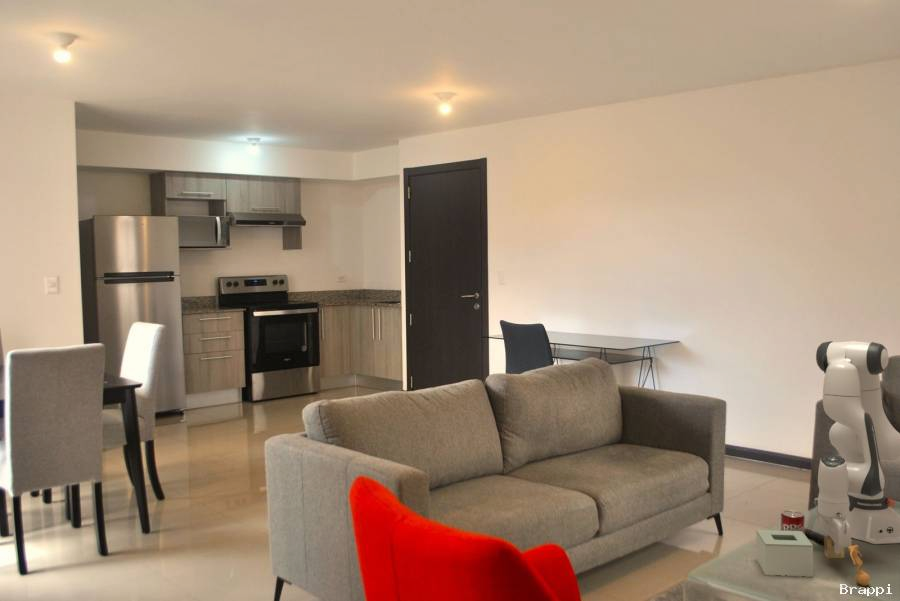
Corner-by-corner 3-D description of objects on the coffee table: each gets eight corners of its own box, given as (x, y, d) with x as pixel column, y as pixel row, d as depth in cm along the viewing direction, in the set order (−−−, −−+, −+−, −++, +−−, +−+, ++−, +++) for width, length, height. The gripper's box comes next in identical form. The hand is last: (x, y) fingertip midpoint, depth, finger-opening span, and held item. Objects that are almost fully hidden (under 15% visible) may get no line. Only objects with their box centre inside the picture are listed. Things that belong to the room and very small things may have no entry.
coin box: (801, 561, 256) (801, 531, 255) (812, 576, 244) (813, 545, 243) (756, 559, 258) (756, 529, 257) (765, 575, 246) (765, 543, 245)
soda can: (806, 552, 262) (806, 517, 261) (783, 551, 264) (783, 516, 263) (801, 544, 269) (801, 510, 269) (778, 543, 271) (778, 509, 270)
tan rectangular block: (840, 553, 254) (840, 535, 253) (844, 557, 251) (843, 539, 250) (824, 553, 254) (824, 535, 254) (827, 557, 251) (827, 539, 251)
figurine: (867, 591, 233) (867, 552, 232) (844, 586, 237) (845, 547, 236) (872, 581, 240) (873, 543, 239) (851, 576, 243) (851, 538, 242)
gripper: (856, 519, 240) (857, 563, 242) (832, 496, 261) (833, 537, 262) (834, 520, 241) (835, 563, 242) (812, 497, 261) (813, 537, 263)
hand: (834, 549), depth 252 cm, fingers closed on tan rectangular block, 3 cm apart
